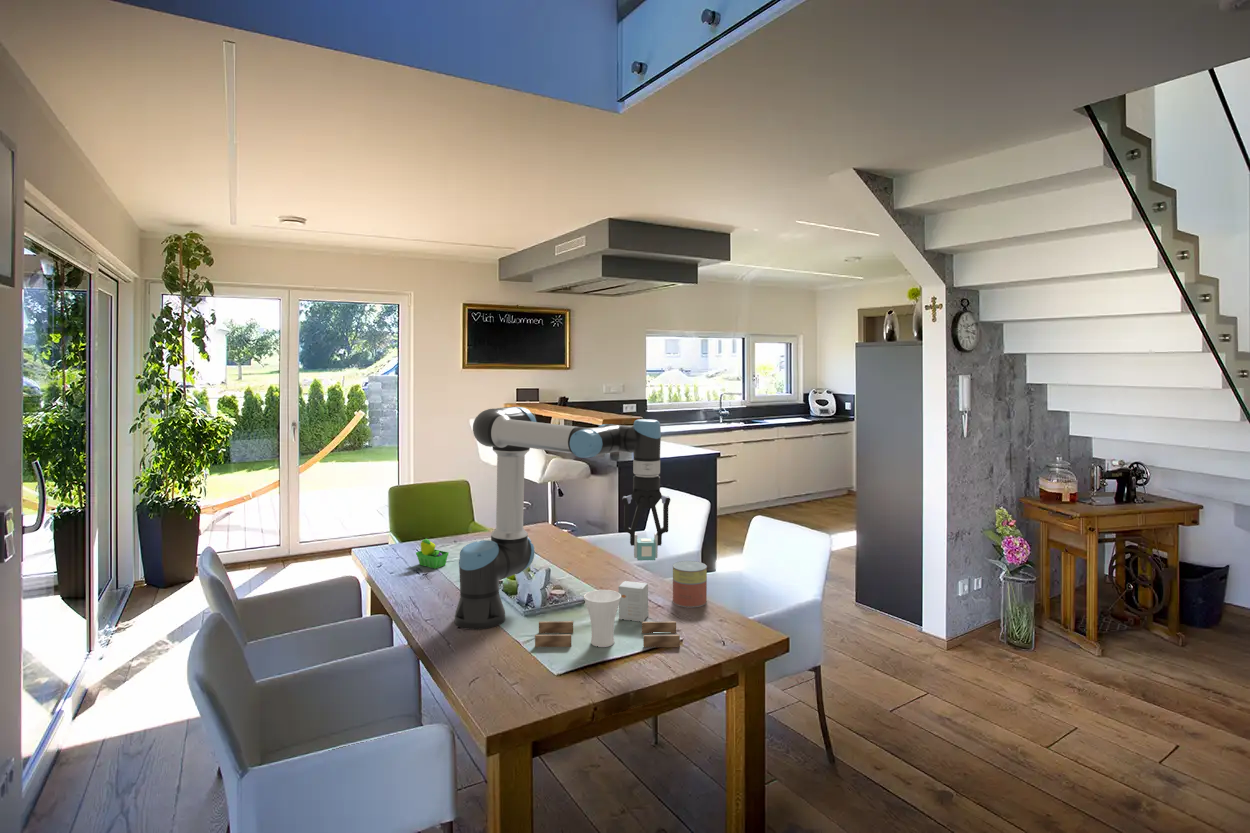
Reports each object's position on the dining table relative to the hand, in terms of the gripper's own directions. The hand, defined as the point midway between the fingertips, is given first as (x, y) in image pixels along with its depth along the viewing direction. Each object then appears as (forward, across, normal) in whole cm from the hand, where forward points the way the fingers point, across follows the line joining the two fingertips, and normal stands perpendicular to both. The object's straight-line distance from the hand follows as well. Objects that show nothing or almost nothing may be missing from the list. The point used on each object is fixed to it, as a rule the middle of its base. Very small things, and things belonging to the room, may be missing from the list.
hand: (645, 556), depth 191 cm
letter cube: (0, 0, 0) cm, 0 cm away
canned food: (+24, +17, +30) cm, 42 cm away
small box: (+24, -2, +16) cm, 30 cm away
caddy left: (+24, -26, +1) cm, 35 cm away
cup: (+24, -12, -2) cm, 27 cm away
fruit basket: (+26, -79, +74) cm, 111 cm away
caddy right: (+24, +4, -1) cm, 24 cm away
